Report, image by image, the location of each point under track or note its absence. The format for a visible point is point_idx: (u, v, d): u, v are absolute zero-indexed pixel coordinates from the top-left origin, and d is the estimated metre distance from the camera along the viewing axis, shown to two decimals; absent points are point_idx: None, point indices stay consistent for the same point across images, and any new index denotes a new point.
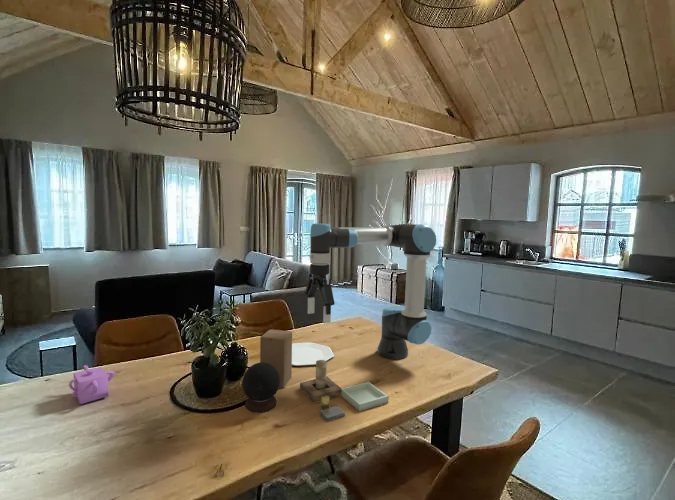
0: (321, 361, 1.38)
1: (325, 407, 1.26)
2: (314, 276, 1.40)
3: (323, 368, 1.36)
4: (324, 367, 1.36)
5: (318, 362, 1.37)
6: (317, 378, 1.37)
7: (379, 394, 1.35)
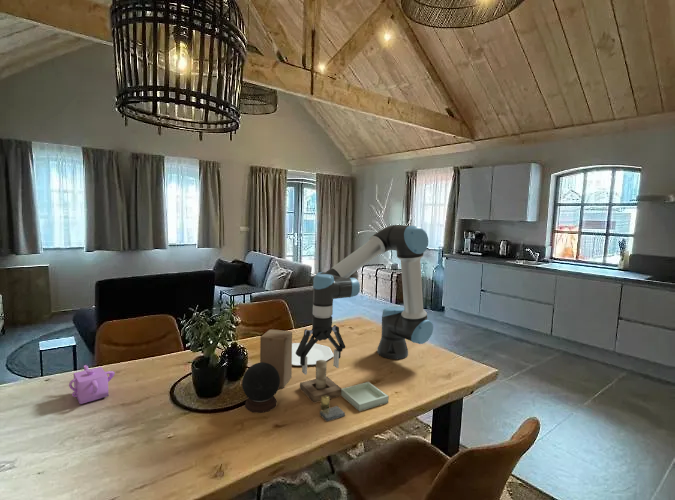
0: (321, 361, 1.38)
1: (325, 407, 1.26)
2: None
3: (323, 368, 1.36)
4: (324, 367, 1.36)
5: (318, 362, 1.37)
6: (317, 378, 1.37)
7: (379, 394, 1.35)
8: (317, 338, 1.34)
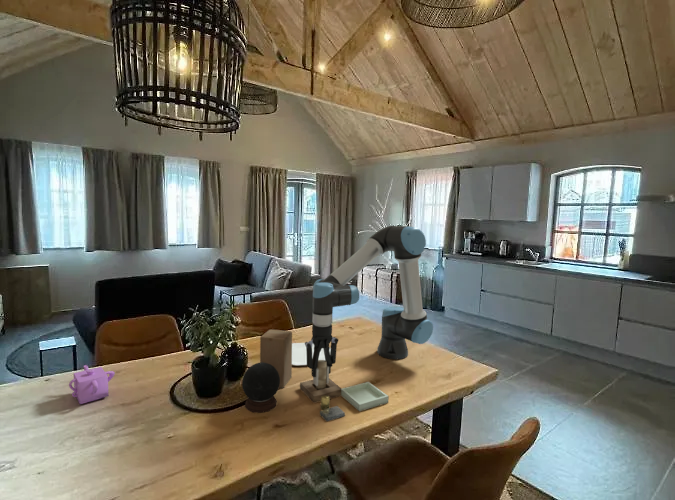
0: (321, 361, 1.38)
1: (325, 407, 1.26)
2: None
3: (323, 368, 1.36)
4: (324, 367, 1.36)
5: (318, 362, 1.37)
6: None
7: (379, 394, 1.35)
8: (319, 347, 1.34)
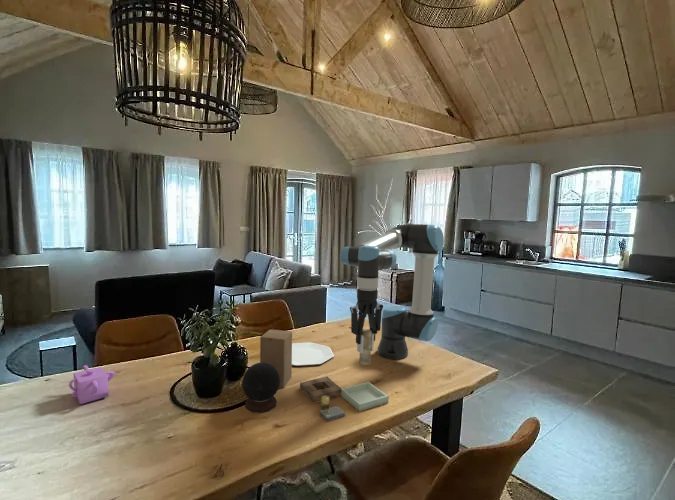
0: (366, 330, 1.32)
1: (325, 407, 1.26)
2: None
3: (369, 337, 1.30)
4: (369, 336, 1.31)
5: (363, 331, 1.31)
6: None
7: (379, 394, 1.35)
8: (365, 313, 1.29)
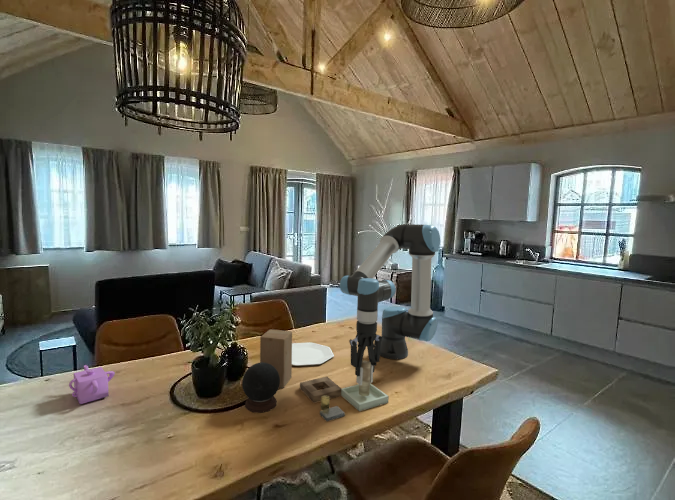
0: (365, 362, 1.33)
1: (325, 407, 1.26)
2: None
3: (368, 369, 1.31)
4: (368, 368, 1.32)
5: (362, 363, 1.33)
6: None
7: (379, 394, 1.35)
8: (364, 345, 1.30)
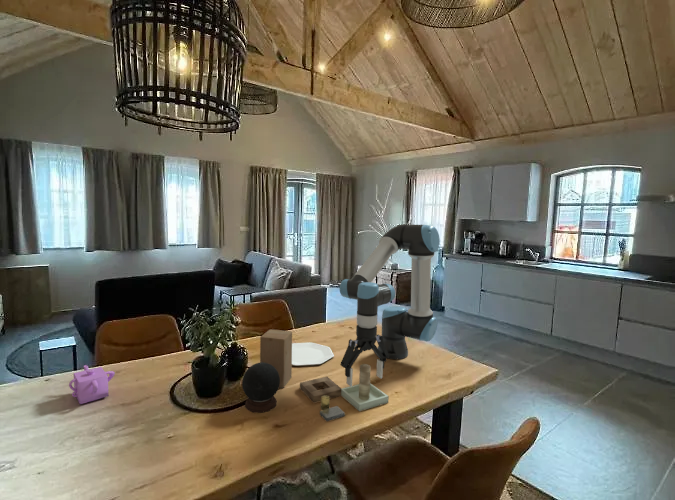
0: (365, 366, 1.33)
1: (325, 407, 1.26)
2: None
3: (368, 373, 1.32)
4: (368, 371, 1.32)
5: (362, 366, 1.33)
6: (361, 383, 1.32)
7: (379, 394, 1.35)
8: (362, 348, 1.30)
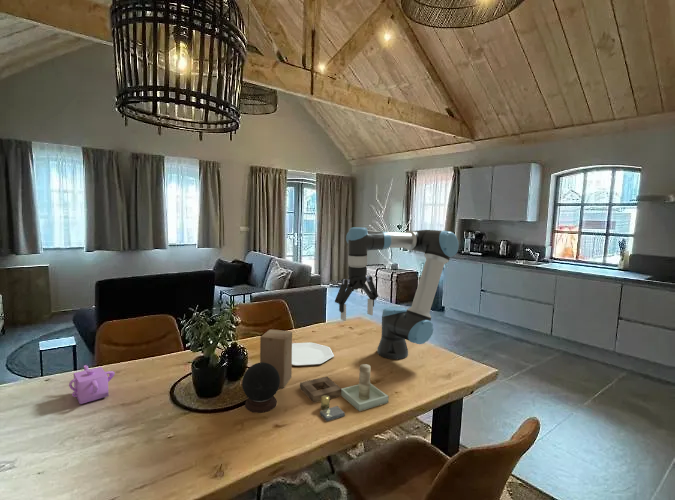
0: (365, 366, 1.33)
1: (325, 407, 1.26)
2: None
3: (368, 373, 1.32)
4: (368, 372, 1.32)
5: (362, 366, 1.33)
6: (361, 383, 1.32)
7: (379, 394, 1.35)
8: (354, 286, 1.43)
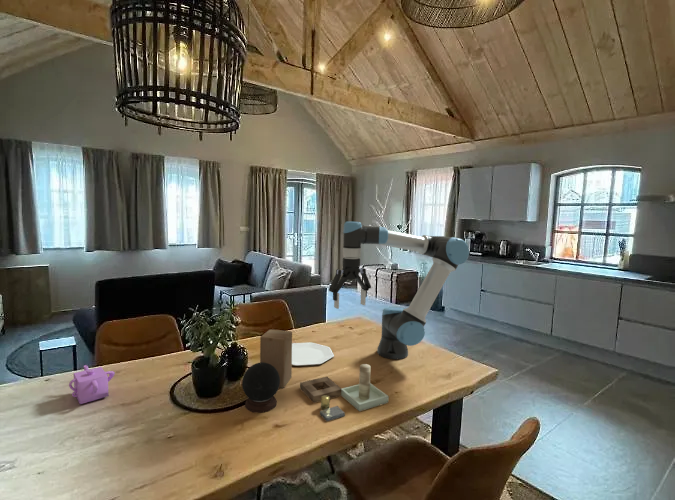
0: (365, 366, 1.33)
1: (325, 407, 1.26)
2: None
3: (368, 373, 1.32)
4: (368, 372, 1.32)
5: (362, 366, 1.33)
6: (361, 383, 1.32)
7: (379, 394, 1.35)
8: (347, 277, 1.52)
